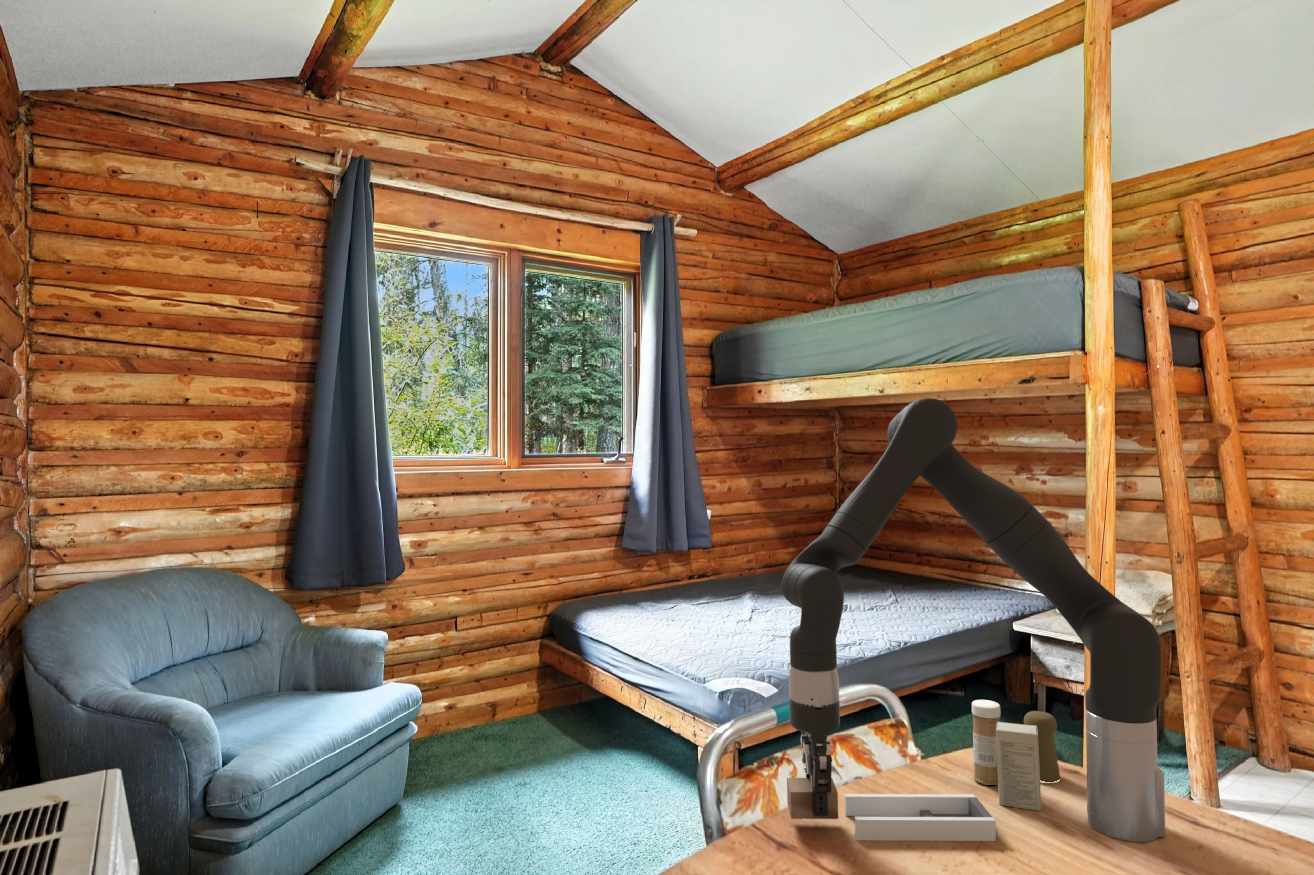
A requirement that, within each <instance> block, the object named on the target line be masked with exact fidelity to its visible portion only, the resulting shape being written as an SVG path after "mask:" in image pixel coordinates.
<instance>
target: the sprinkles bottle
mask: <svg viewBox="0 0 1314 875" xmlns="http://www.w3.org/2000/svg"><path fill="white" fill-rule="evenodd" d="M971 713H972V722H973V726H972V729H973V730H972V744H973V745H972V750H973V768H974V769H973V773H974V774H973V780H974V781H975V782H976V781H977V782H976V783H978V784H980V783H981V784H980V785H983V784H984V785H983V786H987V785H996V786H998V767H997V745H996V724H997V722H1000V719H1001V713H1002V712H1001V705H1000V704H999V702H996V701H993V700H988V699H975V700H973V701H972V702H971Z"/></svg>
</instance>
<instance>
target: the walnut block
mask: <svg viewBox="0 0 1314 875" xmlns="http://www.w3.org/2000/svg"><path fill="white" fill-rule="evenodd" d="M818 783H824V779H820V780H818ZM786 788H787V789H786V794H787V795H786V796H787V797H786V798H787V799H786V800H787V807H788V808H787V809H788V812H789V815H790V819H791V820H792V819H793V820H796V819H797V820H839V795H838V794H839V793H838V790H837V789H838V788H837V786H836V785H835V782H834V779H833V777H831V788H832V790H831V793H827V798H828V815H827V816H814V815H813V812H812V789H811V778H806V777H786Z"/></svg>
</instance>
